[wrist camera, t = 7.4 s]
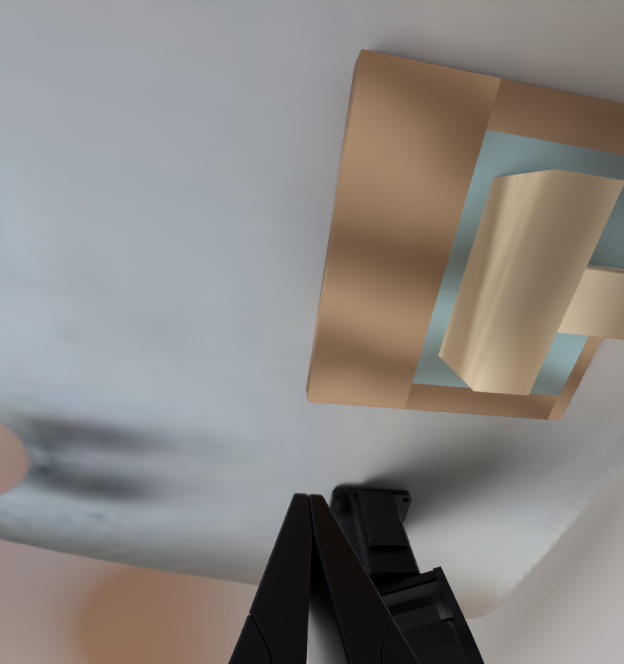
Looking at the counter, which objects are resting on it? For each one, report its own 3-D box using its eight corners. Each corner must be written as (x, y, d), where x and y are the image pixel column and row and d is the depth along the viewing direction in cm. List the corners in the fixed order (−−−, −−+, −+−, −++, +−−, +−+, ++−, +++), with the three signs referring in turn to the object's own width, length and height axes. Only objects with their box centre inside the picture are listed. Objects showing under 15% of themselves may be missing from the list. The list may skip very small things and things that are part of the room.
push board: (544, 407, 23) (560, 420, 22) (306, 389, 21) (307, 401, 20) (679, 130, 17) (714, 123, 15) (354, 64, 15) (361, 49, 13)
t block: (438, 355, 19) (473, 391, 16) (493, 177, 16) (557, 168, 12) (581, 368, 20) (646, 404, 17) (664, 205, 17) (771, 205, 13)
